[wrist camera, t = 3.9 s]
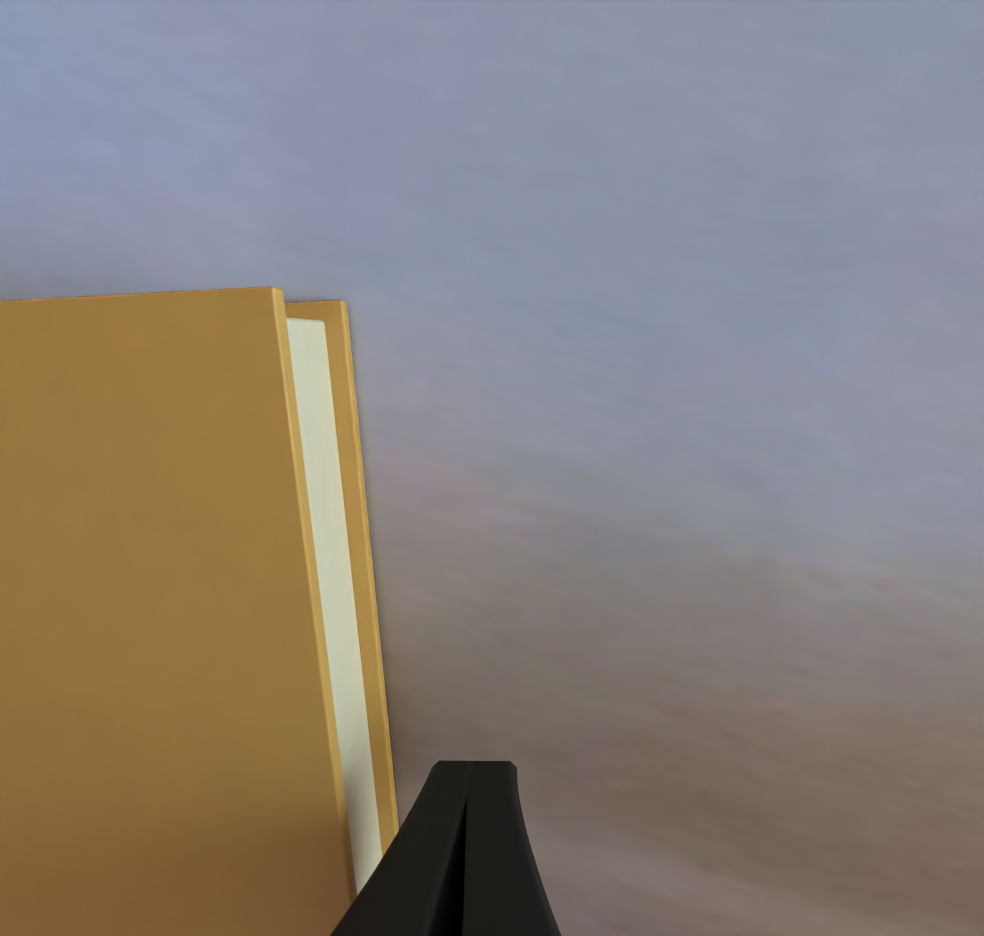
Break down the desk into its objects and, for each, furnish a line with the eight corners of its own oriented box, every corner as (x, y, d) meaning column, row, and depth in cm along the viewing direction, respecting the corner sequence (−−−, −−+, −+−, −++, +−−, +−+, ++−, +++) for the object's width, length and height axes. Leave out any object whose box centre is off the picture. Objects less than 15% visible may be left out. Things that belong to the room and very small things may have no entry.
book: (421, 1055, 13) (394, 1244, 10) (-55, 1035, 14) (-196, 1204, 11) (347, 301, 9) (272, 286, 7) (-304, 333, 10) (-611, 332, 7)
